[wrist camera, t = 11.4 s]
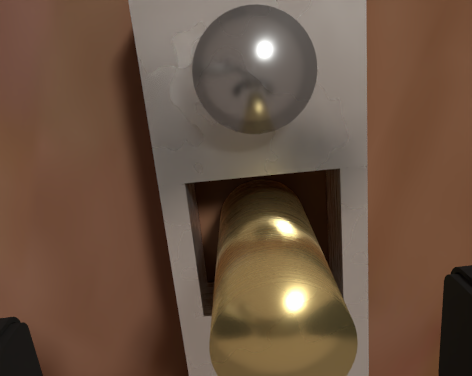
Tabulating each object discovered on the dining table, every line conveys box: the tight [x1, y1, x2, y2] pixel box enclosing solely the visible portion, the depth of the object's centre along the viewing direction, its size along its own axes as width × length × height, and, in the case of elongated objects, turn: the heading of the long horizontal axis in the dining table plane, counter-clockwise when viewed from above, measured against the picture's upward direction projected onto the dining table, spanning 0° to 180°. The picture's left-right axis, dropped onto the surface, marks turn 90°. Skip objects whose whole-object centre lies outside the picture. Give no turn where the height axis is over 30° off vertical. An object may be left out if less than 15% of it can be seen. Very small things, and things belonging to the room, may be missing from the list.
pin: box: [209, 179, 358, 376], centre depth 14 cm, size 3×3×8 cm
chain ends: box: [128, 0, 369, 376], centre depth 16 cm, size 17×7×4 cm, turn 6°
